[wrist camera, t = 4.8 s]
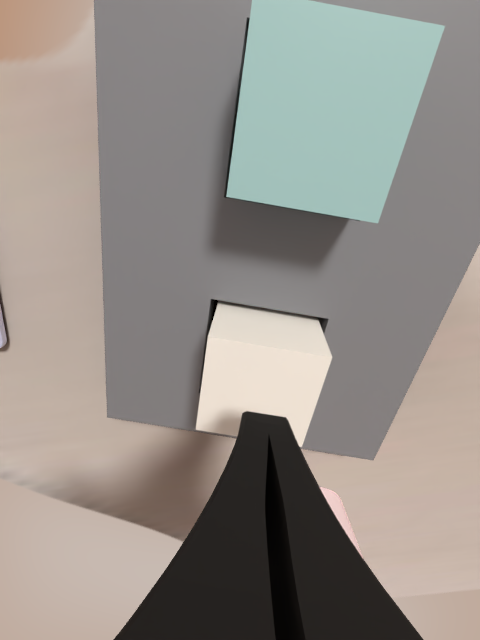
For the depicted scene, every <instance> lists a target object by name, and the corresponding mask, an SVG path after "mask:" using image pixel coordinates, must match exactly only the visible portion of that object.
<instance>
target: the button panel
mask: <svg viewBox="0 0 480 640" xmlns="http://www.w3.org/2000/svg"><path fill="white" fill-rule="evenodd" d="M310 1H316V2H321V3H326V4H332V5H337V6H342V7H348V8H353V9H358V10H364V11H369V12H374V13H379V14H385V15H390V16H395V17H401V18H406V19H411V20H417V21H422V22H427V23H433V24H438V25H443V26H445V28H444V31H443V34H442V37H441V40H440V42H439V45H438V48H437V51H436V54H435V57H434V60H433V63H432V66H431V69H430V72H429V75H428V78H427V81H426V84H425V87H424V89H423V92H422V95H421V98H420V101H419V104H418V107H417V110H416V113H415V116H414V119H413V122H412V125H411V128H410V131H409V134H408V137H407V139H406V142H405V145H404V148H403V151H402V154H401V157H400V160H399V163H398V166H397V169H396V172H395V175H394V178H393V181H392V184H391V186H390V189H389V192H388V195H387V198H386V201H385V204H384V207H383V210H382V213H381V216H380V219H379V222H378V223H372V222H367V221H361V220H355V219H350V218H344V217H338V216H333V215H327V214H321V213H316V212H310V211H304V210H298V209H293V208H287V207H281V206H276V205H270V204H264V203H259V202H253V201H247V200H242V199H236V198H230V197H226V195H227V187H228V180H229V172H230V165H231V157H232V150H233V142H234V134H235V127H236V119H237V112H238V104H239V96H240V89H241V81H242V74H243V66H244V58H245V51H246V43H247V36H248V28H249V21H250V13H251V5H252V0H94V17H95V48H96V80H97V112H98V143H99V175H100V206H101V238H102V270H103V301H104V333H105V364H106V396H107V417H108V418H114V419H121V420H127V421H133V422H139V423H145V424H152V425H158V426H164V427H170V428H176V429H182V430H189V431H195V432H201V433H207V434H213V435H220V436H226V437H232V438H237V436H231V435H225V434H218V433H212V432H206V431H200V430H196V423H197V415H198V407H199V400H200V392H201V385H202V377H203V370H204V362H205V354H206V347H207V339H208V334H209V331H210V328H211V321H212V313H213V306H214V299H215V300H220V301H226V302H232V303H238V304H244V305H250V306H256V307H262V308H268V309H273V310H279V311H285V312H291V313H297V314H303V315H309V316H315V317H316V318H318V320H319V323H320V325H321V328H322V331H323V334H324V336H325V339H326V342H327V344H328V347H329V350H330V352H331V355H332V360H331V363H330V366H329V369H328V372H327V375H326V378H325V380H324V383H323V386H322V389H321V392H320V395H319V398H318V401H317V404H316V407H315V410H314V413H313V416H312V419H311V422H310V425H309V428H308V430H307V433H306V436H305V439H304V442H303V445H302V447H300V449H306V450H312V451H319V452H325V453H331V454H337V455H343V456H349V457H356V458H362V459H368V460H374V458H375V456H376V454H377V452H378V450H379V448H380V446H381V444H382V442H383V440H384V438H385V436H386V434H387V432H388V430H389V427H390V425H391V423H392V421H393V419H394V417H395V415H396V413H397V411H398V409H399V407H400V405H401V403H402V401H403V399H404V397H405V395H406V393H407V391H408V389H409V387H410V385H411V383H412V381H413V378H414V376H415V374H416V372H417V370H418V368H419V366H420V364H421V362H422V360H423V358H424V356H425V354H426V352H427V350H428V348H429V346H430V344H431V342H432V340H433V338H434V336H435V334H436V332H437V330H438V327H439V325H440V323H441V321H442V319H443V317H444V315H445V313H446V311H447V309H448V307H449V305H450V303H451V301H452V299H453V297H454V295H455V293H456V291H457V289H458V287H459V285H460V283H461V281H462V279H463V276H464V274H465V272H466V270H467V268H468V266H469V264H470V262H471V260H472V258H473V256H474V254H475V252H476V250H477V248H478V246H479V244H480V0H310Z"/></svg>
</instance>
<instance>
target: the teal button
mask: <svg viewBox="0 0 480 640" xmlns="http://www.w3.org/2000/svg"><path fill="white" fill-rule="evenodd" d="M444 28H445V26H443V25H438V24H433V23H427V22H422V21H417V20H411V19H406V18H401V17H395V16H390V15H385V14H379V13H374V12H369V11H364V10H358V9H353V8H348V7H342V6H337V5H332V4H326V3H321V2H316V1H310V0H252V5H251V13H250V21H249V28H248V36H247V43H246V51H245V58H244V66H243V74H242V81H241V89H240V96H239V104H238V112H237V119H236V127H235V134H234V142H233V150H232V157H231V165H230V172H229V180H228V187H227V195H226V197H230V198H236V199H242V200H247V201H253V202H259V203H264V204H270V205H276V206H281V207H287V208H293V209H298V210H304V211H310V212H316V213H321V214H327V215H333V216H338V217H344V218H350V219H355V220H361V221H367V222H372V223H378V222H379V219H380V216H381V213H382V210H383V207H384V204H385V201H386V198H387V195H388V192H389V189H390V186H391V184H392V181H393V178H394V175H395V172H396V169H397V166H398V163H399V160H400V157H401V154H402V151H403V148H404V145H405V142H406V139H407V137H408V134H409V131H410V128H411V125H412V122H413V119H414V116H415V113H416V110H417V107H418V104H419V101H420V98H421V95H422V92H423V89H424V87H425V84H426V81H427V78H428V75H429V72H430V69H431V66H432V63H433V60H434V57H435V54H436V51H437V48H438V45H439V42H440V40H441V37H442V34H443V31H444Z"/></svg>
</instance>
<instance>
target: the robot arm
mask: <svg viewBox="0 0 480 640" xmlns="http://www.w3.org/2000/svg"><path fill="white" fill-rule="evenodd" d="M6 343H7V338H6V333H5V327H4V322H3V317H2V311H1V306H0V348H2V347H3V346H4V345H5V344H6ZM114 640H423V639H422V637H421V636H420V635H419V633H418V632H417V631H416V629H415V628H414V627H413V626H412V624H411V623H410V622H409V620H408V619H407V618H406V616H405V615H404V614H403V613H402V611H401V610H400V609H399V607H398V606H397V605H396V603H395V602H394V601H393V599H392V598H391V597H390V596H389V594H388V593H387V592H386V590H385V589H384V588H383V586H382V585H381V584H380V582H379V581H378V579H377V578H376V577H375V575H374V574H373V572H372V571H371V569H370V568H369V567H368V565H367V564H366V562H365V561H364V559H363V558H362V556H361V555H360V553H359V552H358V550H357V549H356V547H355V546H354V544H353V543H352V541H351V540H350V538H349V537H348V535H347V534H346V532H345V530H344V529H343V527H342V526H341V524H340V522H339V521H338V519H337V517H336V516H335V514H334V512H333V511H332V509H331V507H330V505H329V504H328V502H327V500H326V498H325V497H324V495H323V493H322V491H321V489H320V487H319V486H318V484H317V482H316V480H315V478H314V476H313V474H312V472H311V470H310V468H309V466H308V464H307V462H306V460H305V458H304V456H303V454H302V451H301V449H300V447H299V445H298V443H297V440H296V438H295V436H294V433H293V431H292V428H291V426H290V423H289V421H288V419H287V418H286V417H281V416H275V415H268V414H262V413H256V412H250V411H246V412H244V413H242V417H241V422H240V427H239V431H238V436H237V440H236V443H235V445H234V448H233V450H232V453H231V455H230V458H229V460H228V462H227V465H226V467H225V469H224V471H223V473H222V475H221V477H220V479H219V481H218V483H217V485H216V487H215V489H214V491H213V493H212V495H211V497H210V499H209V501H208V502H207V504H206V506H205V508H204V510H203V511H202V513H201V515H200V517H199V518H198V520H197V522H196V523H195V525H194V527H193V528H192V530H191V532H190V533H189V535H188V536H187V538H186V539H185V541H184V542H183V544H182V546H181V547H180V549H179V550H178V552H177V553H176V555H175V556H174V558H173V559H172V561H171V562H170V564H169V565H168V567H167V568H166V570H165V571H164V573H163V574H162V575H161V577H160V578H159V580H158V581H157V583H156V584H155V585H154V587H153V588H152V589H151V591H150V592H149V593H148V595H147V596H146V598H145V599H144V600H143V602H142V603H141V604H140V606H139V607H138V609H137V610H136V612H135V613H134V614H133V616H132V617H131V618H130V619H129V621H128V622H127V623H126V625H125V626H124V627H123V629H122V630H121V631H120V632H119V634H118V635H117V636H116V637H115V639H114Z"/></svg>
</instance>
